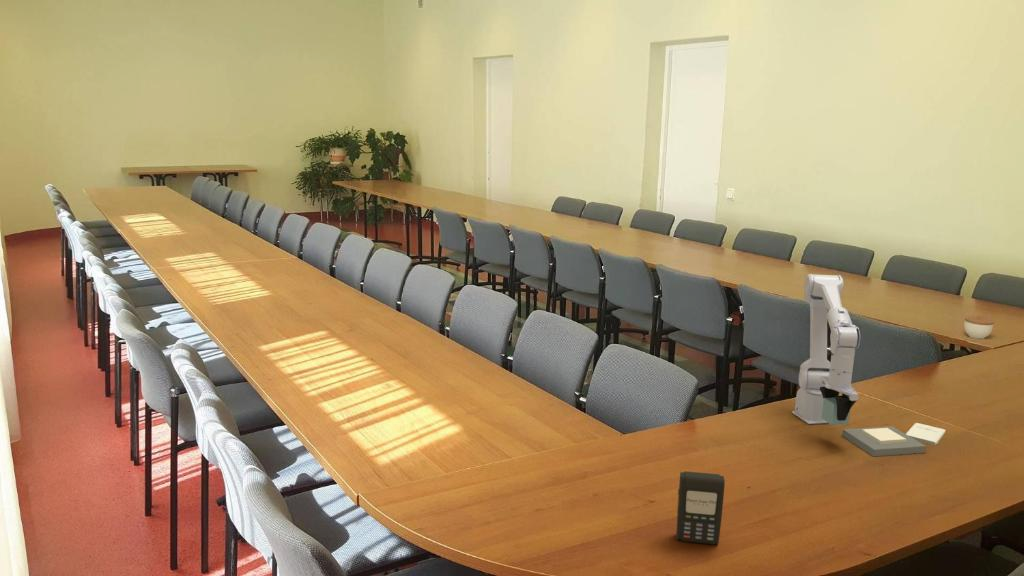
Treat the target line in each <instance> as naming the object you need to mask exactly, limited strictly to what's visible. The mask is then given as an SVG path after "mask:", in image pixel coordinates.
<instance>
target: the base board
mask: <svg viewBox="0 0 1024 576" xmlns="http://www.w3.org/2000/svg"><path fill="white" fill-rule="evenodd" d="M841 436H842V437H843V438H844V437H845V438H844V439H845V440H847V439H848V441H849V442H850V443H852V444H854V445H855V446H856V447H858V448H860V449H861V450H862V451H864V452H866V453H868V454H869V455H870V454H871V457H873V456H875V457H887V456H900V455H901V454H903V455H912V454H913V453H916V454H925V453H926V450H927V445H925V444H924V443H923V442H919V441H917V440H915V439H913V438H911V437H910V436H908V435H906V433H904V432H903V431H901V430H899V429H898V428H896V427H894V426H893V425H891V426H875V427H863V428H862V427H861V428H859V427H858V428H847V429H846V428H844V429H842V434H841ZM913 455H914V454H913Z"/></svg>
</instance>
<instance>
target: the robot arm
mask: <svg viewBox="0 0 1024 576" xmlns="http://www.w3.org/2000/svg"><path fill="white" fill-rule="evenodd" d="M803 284H804V285H803V298H804V302H806V303H807V304H809V310H810V313H809V314H810V315H809V317H810V318H809V319H810V321H809V322H810V323H809V328H810V330H809V335H810V336H809V358H808V359H807V360H805V361H803V362H802V363H801V364H800V366H799V373H798V385H799V389H798V390H797V391H796V397H795V406H794V407H795V408H794V410H792V412H791V413H792V414H793V415H795V416H796V417H798V418H799V419H801V420H802V421H804V422H805V423H806V424H808V425H817V424H829V423H828V422H826V421H825V420H823V419H822V409H823V400H824V398H835V399H836V402H837V419H838V420H839V421H843V420H846V418H847V415H848V413H849V411H850V412H851V409H852V408H853V406H854V405H855V403H857V402H858V401H859V396H860V395H859V394H860V393H859V392H856V390H855V389H854V387H853V386H852V385H851V384H852V376H853V369H854V361H855V353H856V349H858V348H859V346H860V344H861V343H860V342H861V332H860V328H859V327H858V326H856V325H855V324H853V322H852V319H851V316H850V315H849V314H850V313H849V311H848V309H846V307H843V305H842V301H841V296H842V293H843V290H844V286H845V285H844V279H843V277H842V276H841V274H835V275H834V274H833V275H832V274H813V273H808V274H807V275H806V277H805V280H804V282H803ZM828 326H829V328H830V336H829V337H830V338H829V340H830V352H831V356H830V361H829V360H828Z"/></svg>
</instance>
